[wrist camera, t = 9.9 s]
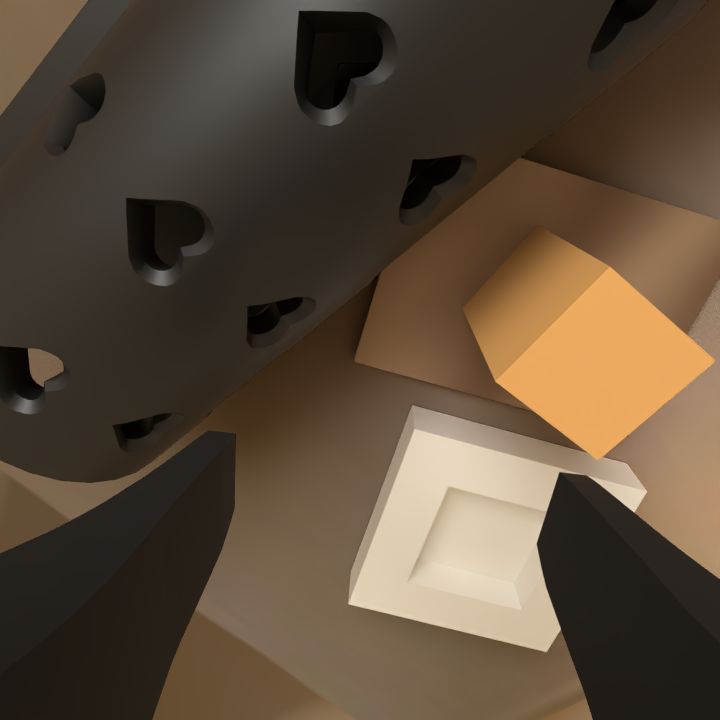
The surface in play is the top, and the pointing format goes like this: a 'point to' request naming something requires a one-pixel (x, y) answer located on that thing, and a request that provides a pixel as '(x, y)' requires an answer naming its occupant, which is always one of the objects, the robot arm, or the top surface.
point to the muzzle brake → (251, 187)
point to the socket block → (470, 528)
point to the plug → (579, 342)
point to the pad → (498, 241)
